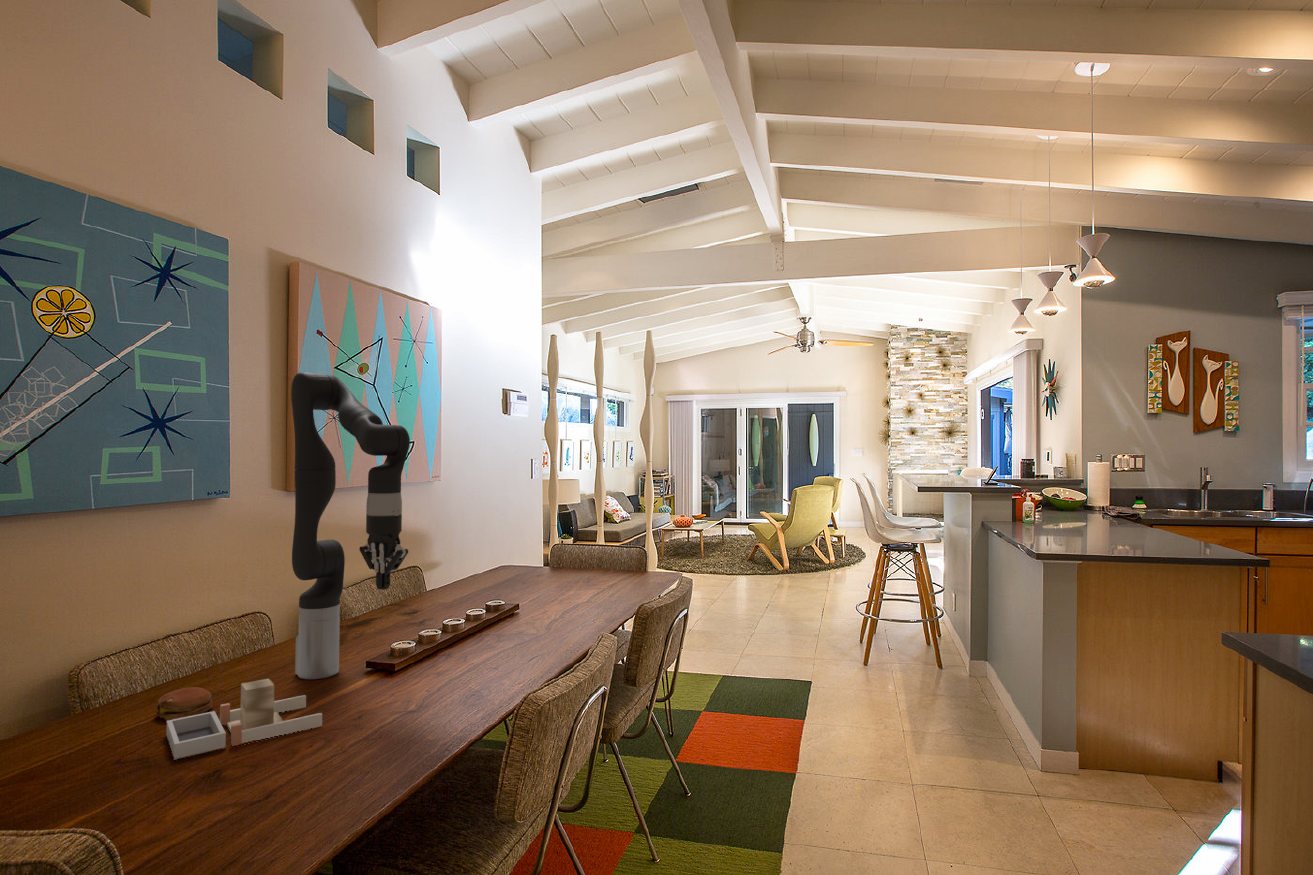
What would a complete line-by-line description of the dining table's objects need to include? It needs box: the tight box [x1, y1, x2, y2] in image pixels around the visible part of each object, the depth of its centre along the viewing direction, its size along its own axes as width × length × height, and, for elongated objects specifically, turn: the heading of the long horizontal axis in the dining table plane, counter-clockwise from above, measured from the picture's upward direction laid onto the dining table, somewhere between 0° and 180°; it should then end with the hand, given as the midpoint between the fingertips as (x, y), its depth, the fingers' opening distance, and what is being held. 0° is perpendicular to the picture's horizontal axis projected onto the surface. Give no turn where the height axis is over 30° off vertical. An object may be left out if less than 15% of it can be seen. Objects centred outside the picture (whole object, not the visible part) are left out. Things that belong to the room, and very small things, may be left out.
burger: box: [155, 686, 213, 722], centre depth 149 cm, size 10×9×5 cm
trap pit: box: [166, 710, 227, 761], centre depth 134 cm, size 8×14×3 cm, turn 40°
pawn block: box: [226, 678, 284, 734], centre depth 141 cm, size 9×9×9 cm
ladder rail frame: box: [219, 694, 323, 746], centre depth 142 cm, size 16×14×4 cm
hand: (383, 588), depth 158 cm, fingers closed
